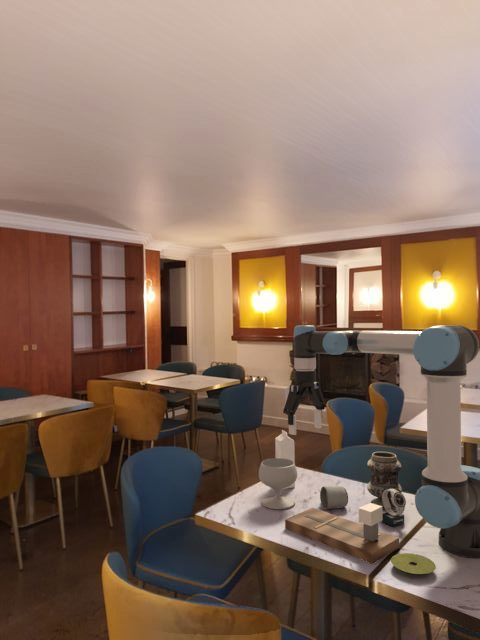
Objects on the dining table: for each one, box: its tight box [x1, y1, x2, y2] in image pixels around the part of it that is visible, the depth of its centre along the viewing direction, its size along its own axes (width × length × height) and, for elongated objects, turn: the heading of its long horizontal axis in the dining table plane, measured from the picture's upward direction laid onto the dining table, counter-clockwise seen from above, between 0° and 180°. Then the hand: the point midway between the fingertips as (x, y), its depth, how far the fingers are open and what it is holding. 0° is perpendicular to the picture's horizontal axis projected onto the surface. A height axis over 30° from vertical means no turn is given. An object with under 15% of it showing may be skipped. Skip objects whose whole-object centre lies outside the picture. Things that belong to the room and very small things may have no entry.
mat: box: [390, 552, 436, 575], centre depth 131 cm, size 11×11×2 cm
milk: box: [274, 429, 296, 490], centre depth 198 cm, size 6×6×22 cm
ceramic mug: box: [319, 485, 349, 510], centre depth 177 cm, size 11×8×8 cm
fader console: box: [284, 507, 400, 565], centre depth 151 cm, size 32×14×3 cm, turn 43°
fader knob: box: [358, 502, 383, 542], centre depth 143 cm, size 4×6×9 cm, turn 133°
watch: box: [381, 489, 407, 529], centre depth 161 cm, size 6×8×11 cm
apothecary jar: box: [366, 451, 403, 510], centre depth 178 cm, size 12×12×18 cm
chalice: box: [258, 457, 298, 510], centre depth 179 cm, size 14×14×15 cm
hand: (305, 431), depth 172 cm, fingers open, 13 cm apart
